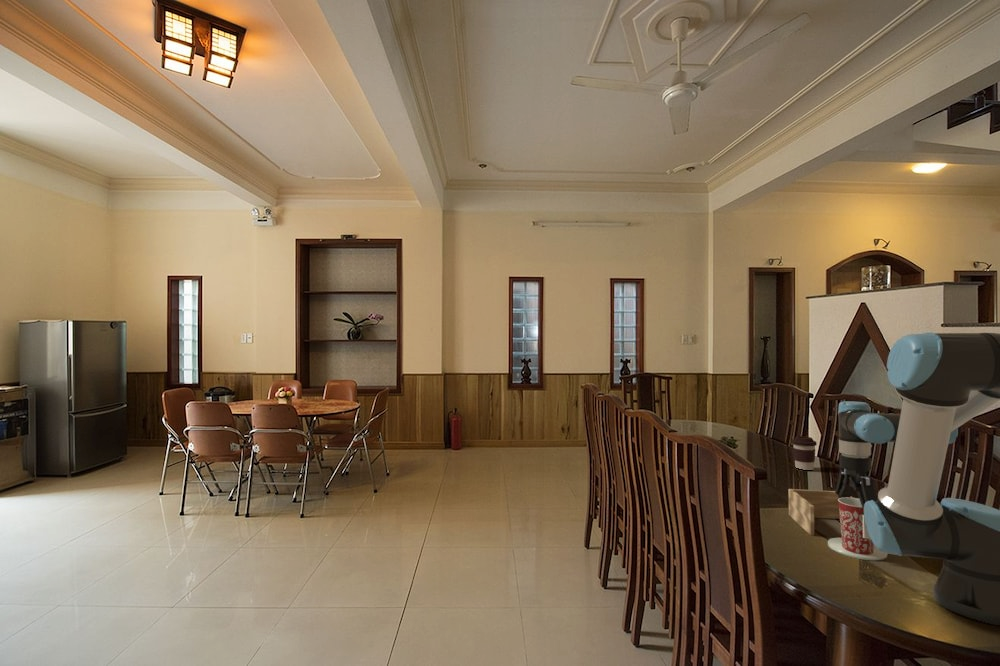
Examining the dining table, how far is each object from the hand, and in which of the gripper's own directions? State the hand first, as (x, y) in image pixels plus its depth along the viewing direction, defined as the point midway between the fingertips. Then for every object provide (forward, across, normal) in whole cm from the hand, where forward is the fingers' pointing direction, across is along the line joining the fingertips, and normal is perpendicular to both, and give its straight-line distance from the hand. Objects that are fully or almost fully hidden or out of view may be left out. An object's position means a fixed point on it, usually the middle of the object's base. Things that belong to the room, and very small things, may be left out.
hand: (856, 529), depth 144 cm
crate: (+6, +19, 0) cm, 20 cm away
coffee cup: (+5, +96, -21) cm, 99 cm away
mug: (+5, 0, 0) cm, 5 cm away
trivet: (+6, 0, 0) cm, 6 cm away
